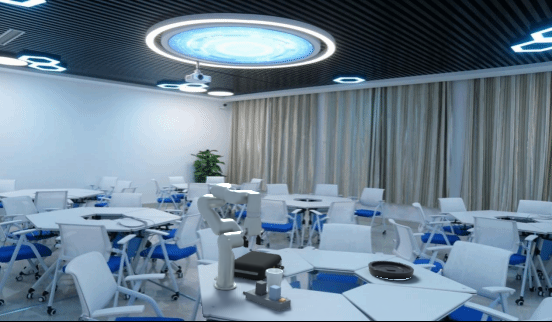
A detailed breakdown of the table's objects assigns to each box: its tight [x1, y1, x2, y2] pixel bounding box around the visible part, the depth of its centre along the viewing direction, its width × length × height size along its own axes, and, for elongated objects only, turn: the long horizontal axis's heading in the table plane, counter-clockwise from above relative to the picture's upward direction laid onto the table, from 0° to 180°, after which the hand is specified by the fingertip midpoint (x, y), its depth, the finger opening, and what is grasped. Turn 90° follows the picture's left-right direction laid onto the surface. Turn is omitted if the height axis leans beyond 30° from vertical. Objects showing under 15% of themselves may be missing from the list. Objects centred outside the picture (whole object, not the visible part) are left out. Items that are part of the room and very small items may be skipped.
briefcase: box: [234, 250, 285, 282], centre depth 258 cm, size 36×32×10 cm
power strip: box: [242, 280, 291, 312], centre depth 209 cm, size 30×9×10 cm, turn 50°
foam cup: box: [266, 269, 284, 292], centre depth 220 cm, size 10×9×13 cm
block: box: [269, 285, 282, 301], centre depth 203 cm, size 4×4×8 cm
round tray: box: [368, 260, 415, 279], centre depth 267 cm, size 30×6×30 cm
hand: (252, 246), depth 212 cm, fingers open, 9 cm apart
